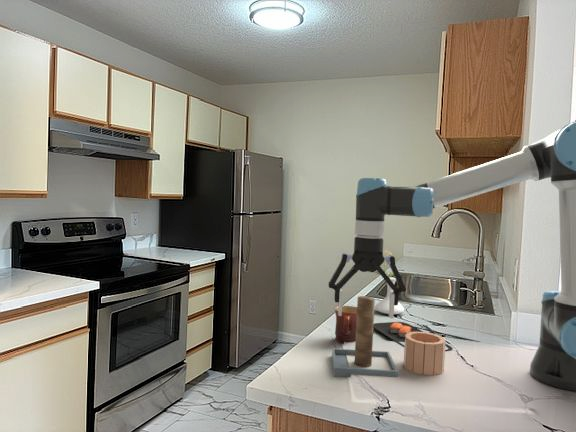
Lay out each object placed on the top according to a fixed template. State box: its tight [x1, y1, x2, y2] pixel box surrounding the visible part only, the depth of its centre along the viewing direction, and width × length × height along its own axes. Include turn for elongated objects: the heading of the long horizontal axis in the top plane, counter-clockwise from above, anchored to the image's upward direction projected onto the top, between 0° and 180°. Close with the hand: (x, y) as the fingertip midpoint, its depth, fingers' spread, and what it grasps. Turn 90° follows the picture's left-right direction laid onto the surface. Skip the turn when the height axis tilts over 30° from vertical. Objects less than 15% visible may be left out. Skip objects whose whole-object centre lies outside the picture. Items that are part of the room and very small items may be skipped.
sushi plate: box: [373, 321, 481, 352], centre depth 146 cm, size 29×30×4 cm
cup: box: [403, 331, 447, 376], centre depth 117 cm, size 10×10×9 cm
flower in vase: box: [374, 249, 405, 315], centre depth 175 cm, size 13×11×25 cm
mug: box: [333, 305, 357, 345], centre depth 137 cm, size 12×9×10 cm
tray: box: [331, 348, 399, 378], centre depth 119 cm, size 16×14×2 cm
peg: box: [354, 295, 376, 368], centre depth 118 cm, size 4×4×18 cm
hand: (365, 315), depth 118 cm, fingers open, 13 cm apart
